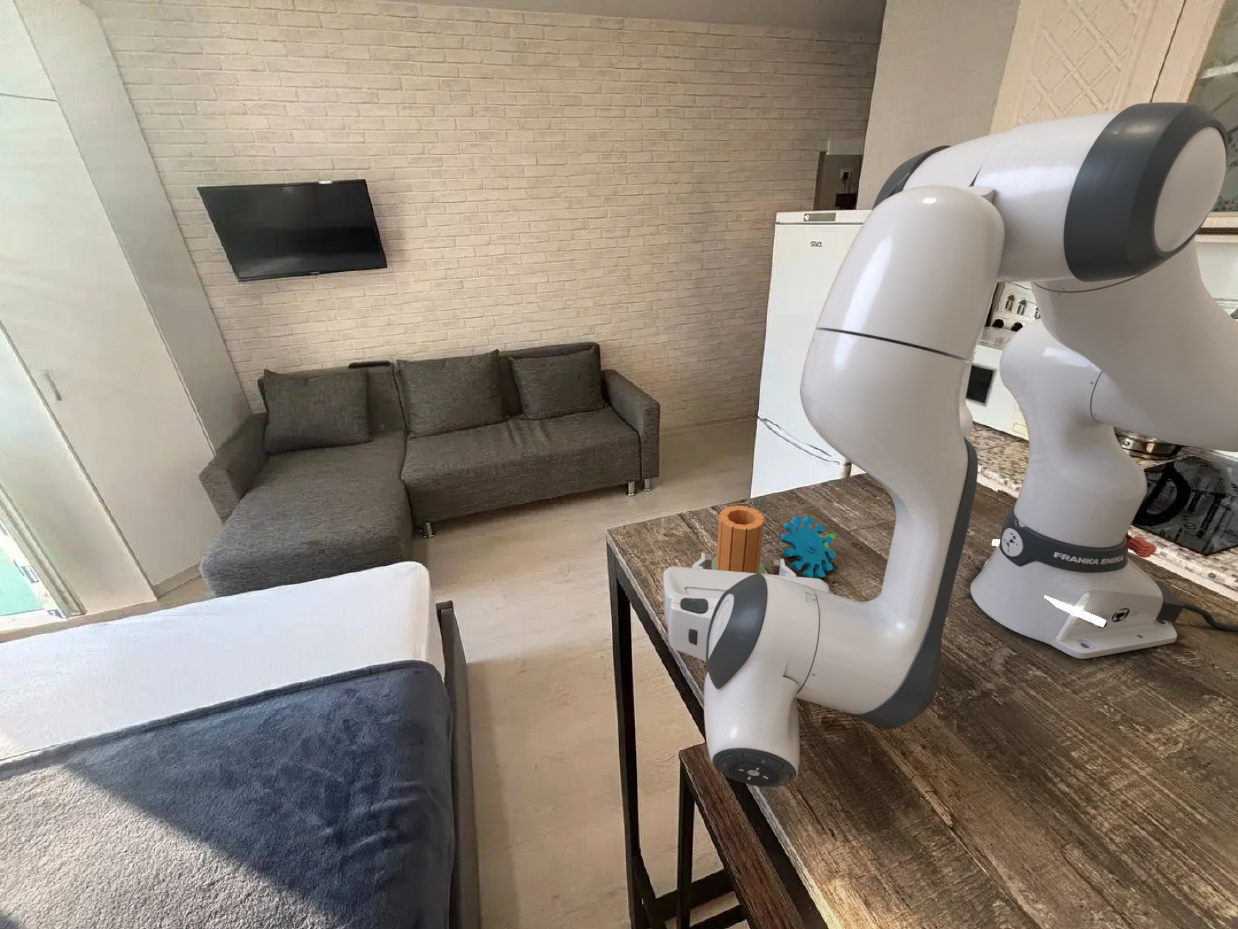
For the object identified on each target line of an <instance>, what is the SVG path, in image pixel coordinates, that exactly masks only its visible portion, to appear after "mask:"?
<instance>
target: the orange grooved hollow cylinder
mask: <svg viewBox="0 0 1238 929" xmlns="http://www.w3.org/2000/svg"><path fill="white" fill-rule="evenodd" d="M720 511H721V512H720V513H719V514H718V523H717V524H718V527H717V542H716V546H717V547H716V556H717V557H716V556H715V557H716V566H717V569H718V570H723V571H734V572H746V573H758V571H759V565H760V561H761V556H762V547H763V546H762V545H763V536H764V526H765V517H764V516H763V514H762V512H761V511H759V510H757V509H755V508H753V507H749V506H745V505H732V506H727V507H725V508H723V509H722V510H720Z"/></svg>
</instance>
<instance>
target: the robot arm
mask: <svg viewBox="0 0 1238 929" xmlns="http://www.w3.org/2000/svg"><path fill="white" fill-rule="evenodd" d="M1228 156H1229V137H1228V132H1227V129H1226V127H1225V125H1224V124H1223V123H1222V122H1221V121H1220V119H1218V118H1217V117H1215V115H1213V113H1211V112H1210V111H1209V110H1207V109H1206V108H1204V107H1203V106H1202V105H1200V104H1197V103H1190V102H1177V101H1176V102H1175V101H1174V102H1173V101H1166V102H1163V101H1161V102H1160V101H1159V102H1158V101H1157V102H1156V101H1155V102H1142V103H1141V102H1140V103H1136V104H1132V105H1130V106H1128V107H1126V108H1124V109H1123V110H1119V111H1118V110H1117V111H1105V112H1095V113H1094V112H1093V113H1086V114H1077V115H1076V114H1075V115H1070V116H1063V117H1055V118H1047V119H1043V120H1037V121H1032V122H1027V123H1023V124H1020V125H1018V126H1016V127H1014V128H1011V129H1006V130H1002V131H999V132H995V133H991V134H987V135H984V136H980V137H977V138H973V139H971V140H966V141H963V142H961V143H957V144H955V145H949V144H948V145H939V146H936V147H933V148H931V149H928V150H925V151H923V152H921V153H918V154H917V155H915V156H912V157H911V158H909V159H907V160H905V161H904V162H902V163H901V164H900V165H898V167H896V168H895V169H894V170H893V171H892V173H891V174H890V175H889V176H888V178H886V180H885V182H884V184H883V185H882V186H881V189H880V190H879V192H878V194H877V196H876V198H875V201H874V203H873V205H872V208H871V211H870V212H869V214H868V215H867V216H866V218H865V220H864V221H863V222H862V225H861V226H860V228H859V229H858V231H857V233H856V235H855V236H854V239H853V241H852V242H851V244H850V246H849V248H848V250H847V252H846V254H845V256H844V258H843V260H842V262H841V264H840V266H839V268H838V270H837V273H836V274H835V277H834V279H833V281H832V284H831V286H830V288H829V290H828V293H827V296H826V298H825V300H824V303H823V305H822V308H821V311H820V314H819V316H818V319H817V322H816V325H815V328H814V329H815V330H814V331H813V334H812V336H811V339H810V343H809V346H808V350H807V352H806V356H805V360H804V364H803V368H802V374H801V379H800V386H799V396H800V402H801V406H802V409H803V411H804V414H805V417H806V419H807V421H808V422H809V424H810V426H811V427H812V428H813V430H814V431H815V432H816V434H817V435H818V436H819V437H820V438H821V439H822V440H823V441H824V442H825V443H826V444H827V445H828V446H829V447H831V448H832V449H833V450H834V451H836V452H837V453H838V454H839V455H841V456H842V457H844V458H845V459H846V460H847V461H849V462H850V463H852V464H853V465H854V466H856V467H857V468H859V469H860V470H861V471H863V472H864V473H866V474H867V475H868V476H870V477H871V478H872V479H874V480H875V481H876V482H877V483H879V484H880V485H881V486H882V487H883V488H884V489H885V490H886V491H887V493H888V494H889V497H890V498H891V499H892V500H891V501H892V503H893V505H894V509H895V524H894V529H893V534H892V538H891V543H890V548H889V553H888V558H887V562H886V566H885V572H884V575H883V576H884V577H883V581H882V586H881V591H880V593H879V594H878V595H877V596H876V597H875V598H872V599H870V600H864V601H863V600H857V599H853V598H849V597H845V596H842V595H838V594H835V593H831V590H830V586H829V584H828V583H827V582H825V581H824V580H822V578H816V577H812V578H806V577H805V576H797V573H795V571H794V570H792V569H790V568H789V566H787V565H786V563H785V559H784V558H774V557H773V558H772V559H771V567H770V568H771V574H769V573H768V574H760V573H746V572H734V571H723V570H711V566H712V560H713V552H712V553H711V552H701V553H700V559H698V560H697V561H696V562H694V563H692V565H691V567H686V566H676V565H674V566H673V565H671V566H669V567H668V568H666V569H664V571H663V574H662V575H663V577H662V581H663V582H662V606H663V607H662V608H663V616H664V620H665V622H666V624H667V634H668V635H667V636H668V642H669V647H670V648H672V649H674V651H675V650H676V651H678V652H681V653H684V654H686V655H689V656H691V657H693V658H696V659H698V660H700V661H702V662H704V663H705V665H706V666H705V667H706V670H707V673H706V675H705V678H704V684H703V720H704V732H705V739H706V747H707V752H708V756H709V759H710V762H711V764H712V766H713V767H714V768H715V769H716V771H718V772H719V773H721V774H722V775H724V777H726V778H729V779H731V780H734V781H736V782H739V783H742V784H746V785H750V786H754V787H758V788H778V787H782V786H784V785H789V784H790V783H792V782H794V781H795V779H797V777H798V775H799V769H800V760H801V758H800V756H801V755H800V754H801V743H800V742H801V740H800V739H801V738H800V722H799V721H800V720H799V710H798V702H797V699H798V700H801V701H805V702H808V703H812V704H816V705H820V706H821V707H825V708H829V709H833V710H836V711H839V712H841V713H843V714H845V715H847V716H849V717H853V718H854V719H857V720H860V721H862V722H865V723H868V724H870V725H873V726H875V727H877V728H880V729H883V730H895V729H898V728H901V727H902V726H905V725H907V724H908V723H910V722H912V721H913V720H915V719H918V717H920V716H921V715H922V714H923V713H925V712H926V711H927V709H928V708H930V707H931V705H932V703H933V702H934V700H935V697H936V695H937V690H938V687H939V680H940V673H941V656H942V640H943V635H944V634H943V633H944V629H945V624H946V621H947V620H946V619H947V615H948V612H949V609H950V608H949V607H950V604H951V599H952V596H953V591H954V588H955V583H956V580H957V576H958V571H959V567H960V564H961V559H962V554H963V551H964V546H965V542H966V538H967V534H968V530H969V526H970V521H971V516H972V511H973V507H974V501H975V496H976V490H977V484H978V483H977V482H978V475H979V474H978V473H979V459H978V454H977V451H976V449H975V447H974V445H973V444H972V443H971V442H970V440H967V439H966V438H965V437H964V436H963V434H962V430H961V423H960V395H961V388H962V384H963V380H964V377H965V374H966V371H967V368H968V366H969V364H968V363H969V362H970V361H971V358H972V356H973V353H974V351H975V350H976V348H977V345H978V343H979V341H980V338H981V334H982V332H983V330H984V329H983V328H984V325H985V322H986V321H987V317H988V313H989V310H990V306H991V302H992V299H993V296H994V292H995V289H996V284H998V283H1024V282H1026V283H1028V282H1029V284H1030V287H1031V290H1032V293H1033V297H1034V300H1035V303H1036V306H1037V310H1038V313H1039V316H1040V318H1037V319H1034V320H1032V321H1030V322H1028V323H1027V324H1025V325H1024V326H1022V327H1020V328H1019V330H1017V331H1016V332H1015V333H1014V334H1013V335H1012V336H1011V337H1010V339H1009V340H1008V341H1007V343H1006V344H1005V346H1004V348H1003V349H1002V353H1001V355H1000V358H999V376H1000V379H1001V382H1002V384H1003V386H1004V388H1006V389H1007V390H1008V391H1009V393H1010V394H1011V395H1012V397H1013V398H1014V400H1015V402H1016V403H1017V405H1018V408H1019V409H1020V411H1021V413H1022V417H1023V420H1024V423H1025V426H1026V429H1027V430H1026V431H1027V436H1028V446H1029V447H1028V451H1029V452H1028V459H1027V466H1026V468H1025V473H1024V476H1023V479H1022V483H1021V486H1020V489H1019V492H1018V495H1017V499H1016V501H1015V503H1013V504H1011V506H1010V508H1009V509H1008V512H1007V514H1006V517H1005V519H1004V521H1003V523H1002V527H1001V532H1000V538H999V539H992V543H991V545H992V546H995V547H994V549H993V551H992V553H991V555H990V556H989V558H988V559H987V560H986V561H985V562H984V564H983V566H982V569H981V571H980V572H979V573H978V575H976V577H975V578H974V579H973V580H972V581H971V583H970V588H969V590H970V595H971V597H972V599H973V601H974V602H975V603H976V605H978V607H979V609H981V610H982V611H983V612H984V613H985V614H986V615H987V616H989V617H990V619H993V620H994V621H996V622H997V623H999V624H1000V625H1002V626H1004V627H1006V628H1008V629H1009V630H1011V631H1013V632H1015V633H1018V634H1020V635H1022V636H1025V637H1027V638H1031V639H1033V640H1037V641H1038V642H1039V641H1040V642H1042V643H1045V644H1048V645H1049V646H1051V647H1053V648H1055V649H1057V650H1058V651H1061V652H1063V653H1064V654H1066V655H1068V656H1070V657H1073V658H1075V659H1080V660H1086V659H1092V658H1098V657H1102V656H1109V655H1113V654H1119V653H1125V652H1131V651H1137V650H1142V649H1147V648H1153V647H1157V646H1163V645H1170V644H1173V643H1175V642H1176V640H1177V639H1178V633H1177V631H1176V629H1175V627H1174V626H1173V624H1172V623H1176V621H1177V619H1178V618H1179V616H1180V614H1181V613H1182V612H1183V610H1188V611H1190V612H1193V613H1196V614H1197V615H1200V616H1201V617H1202V618H1203V619H1204V620H1205V622H1206V623H1207V624H1208V625H1210V626H1211V627H1213V628H1215V629H1219V630H1221V631H1227V632H1233V633H1234V632H1235V633H1236V632H1237V633H1238V625H1231V624H1225V623H1221V622H1218V621H1216V620H1215V619H1214V617H1213V616H1212V615H1211V613H1210V612H1208V611H1206V610H1205V609H1203V608H1201V607H1199V606H1196V605H1195V604H1194V605H1193V604H1191V603H1187V602H1183V601H1181V600H1180V599H1179V598H1178V597H1177V596H1176V595H1175V594H1174V592H1172V591H1171V590H1170V589H1169V587H1167V586H1166V585H1165V584H1164V582H1162V581H1157V580H1154V579H1152V578H1151V577H1150V576H1149V575H1148V574H1147V573H1146V572H1145V571H1144V570H1142V569H1141V568H1140V567H1139V566H1138V565H1137V564H1135V562H1134V561H1132V560H1131V559H1130V558H1129V551H1133V553H1134V554H1136V555H1137V556H1138V557H1139V558H1142V559H1147V558H1150V557H1151V556H1153V555H1155V553H1157V549H1158V548H1157V545H1156V544H1154V543H1152V542H1150V541H1147V540H1146V538H1144V537H1142V536H1134V537H1133V536H1132V535H1131V534H1129V529H1130V527H1131V526H1132V523H1133V521H1134V519H1135V517H1136V515H1137V513H1138V511H1139V509H1140V506H1141V505H1142V503H1143V501H1144V499H1145V497H1146V495H1147V492H1148V482H1147V481H1148V480H1147V476H1146V473H1145V471H1144V469H1143V468H1142V466H1141V465H1140V464H1139V462H1137V461H1136V460H1135V459H1134V458H1133V457H1132V456H1131V455H1130V454H1129V453H1127V451H1126V450H1125V449H1124V448H1123V447H1122V445H1121V444H1120V442H1119V440H1118V438H1117V436H1116V433H1115V429H1114V428H1117V429H1120V430H1124V431H1127V432H1130V433H1134V434H1137V435H1140V436H1144V437H1148V438H1151V439H1155V440H1157V441H1161V442H1165V443H1168V444H1171V445H1178V446H1186V447H1190V448H1196V449H1197V448H1198V449H1205V450H1213V451H1221V452H1229V453H1238V321H1237V320H1236V319H1234V318H1233V317H1232V316H1231V315H1230V314H1229V313H1228V312H1227V311H1226V310H1225V309H1224V308H1223V307H1222V306H1221V305H1220V304H1219V303H1218V301H1216V300H1215V298H1214V297H1213V296H1212V295H1211V293H1210V292H1209V290H1208V289H1207V287H1206V286H1205V283H1204V281H1203V279H1202V275H1201V270H1200V265H1199V258H1198V252H1197V243H1196V236H1197V234H1198V233H1199V231H1200V230H1201V228H1202V226H1203V225H1204V223H1205V222H1206V220H1207V218H1208V216H1209V215H1210V212H1211V211H1212V209H1213V207H1214V205H1215V203H1216V202H1217V200H1218V197H1219V196H1220V193H1221V190H1222V187H1223V184H1224V181H1225V175H1226V169H1227V164H1228Z"/></svg>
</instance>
